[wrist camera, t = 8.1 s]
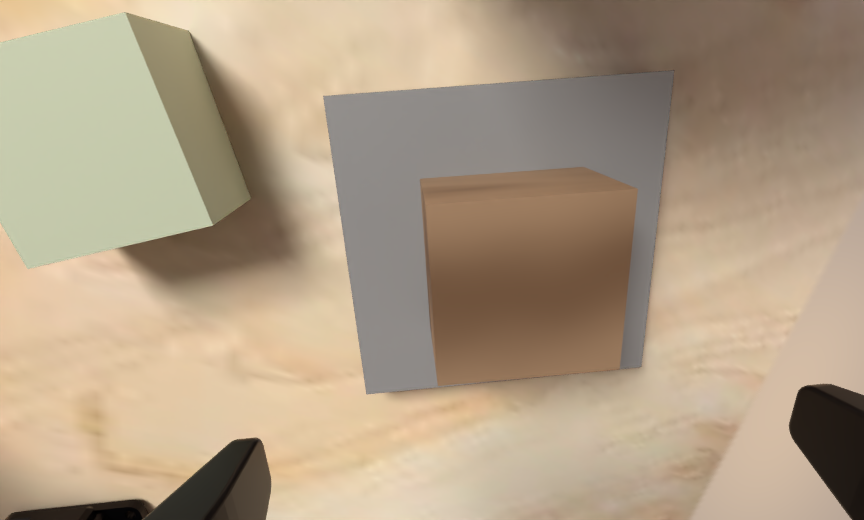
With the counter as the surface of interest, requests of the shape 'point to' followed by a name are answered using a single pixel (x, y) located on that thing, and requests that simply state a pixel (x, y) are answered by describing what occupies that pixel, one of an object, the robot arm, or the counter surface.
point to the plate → (471, 155)
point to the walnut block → (526, 272)
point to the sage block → (109, 140)
